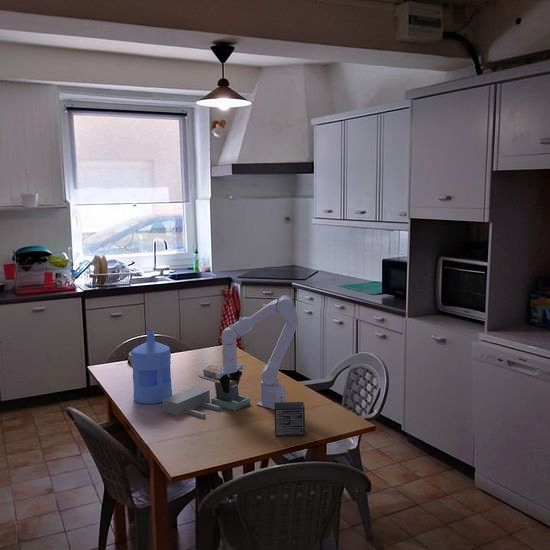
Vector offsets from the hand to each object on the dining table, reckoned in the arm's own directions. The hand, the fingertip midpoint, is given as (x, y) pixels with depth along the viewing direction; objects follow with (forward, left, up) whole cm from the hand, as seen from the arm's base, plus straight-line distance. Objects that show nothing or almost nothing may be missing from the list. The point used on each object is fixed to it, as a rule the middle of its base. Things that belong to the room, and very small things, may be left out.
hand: (230, 390), depth 230 cm
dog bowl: (+73, -20, -6) cm, 76 cm away
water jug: (+31, +13, -6) cm, 34 cm away
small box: (-35, +9, -6) cm, 37 cm away
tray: (0, 0, -6) cm, 6 cm away
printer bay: (+8, +12, -5) cm, 15 cm away
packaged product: (+25, -22, -6) cm, 34 cm away
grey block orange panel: (+1, 0, -3) cm, 4 cm away
